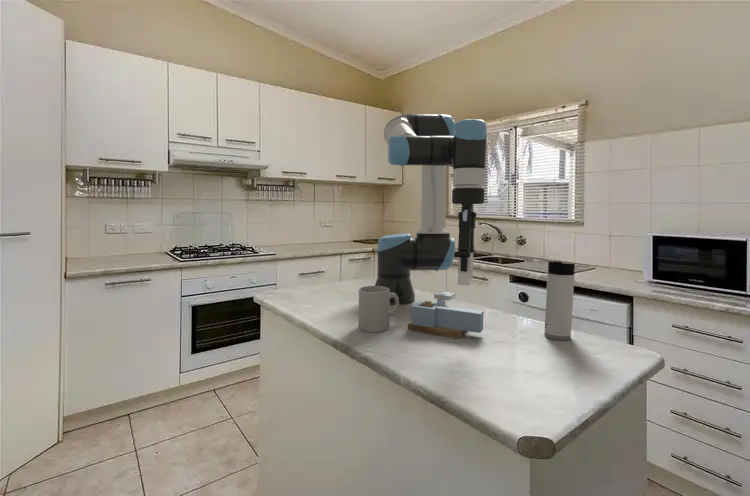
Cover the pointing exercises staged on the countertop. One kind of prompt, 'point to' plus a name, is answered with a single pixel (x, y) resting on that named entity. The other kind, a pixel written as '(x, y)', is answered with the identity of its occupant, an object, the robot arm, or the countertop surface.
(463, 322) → the link
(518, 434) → the countertop surface
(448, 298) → the block
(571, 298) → the travel mug
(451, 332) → the board
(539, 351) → the countertop surface
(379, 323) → the mug
